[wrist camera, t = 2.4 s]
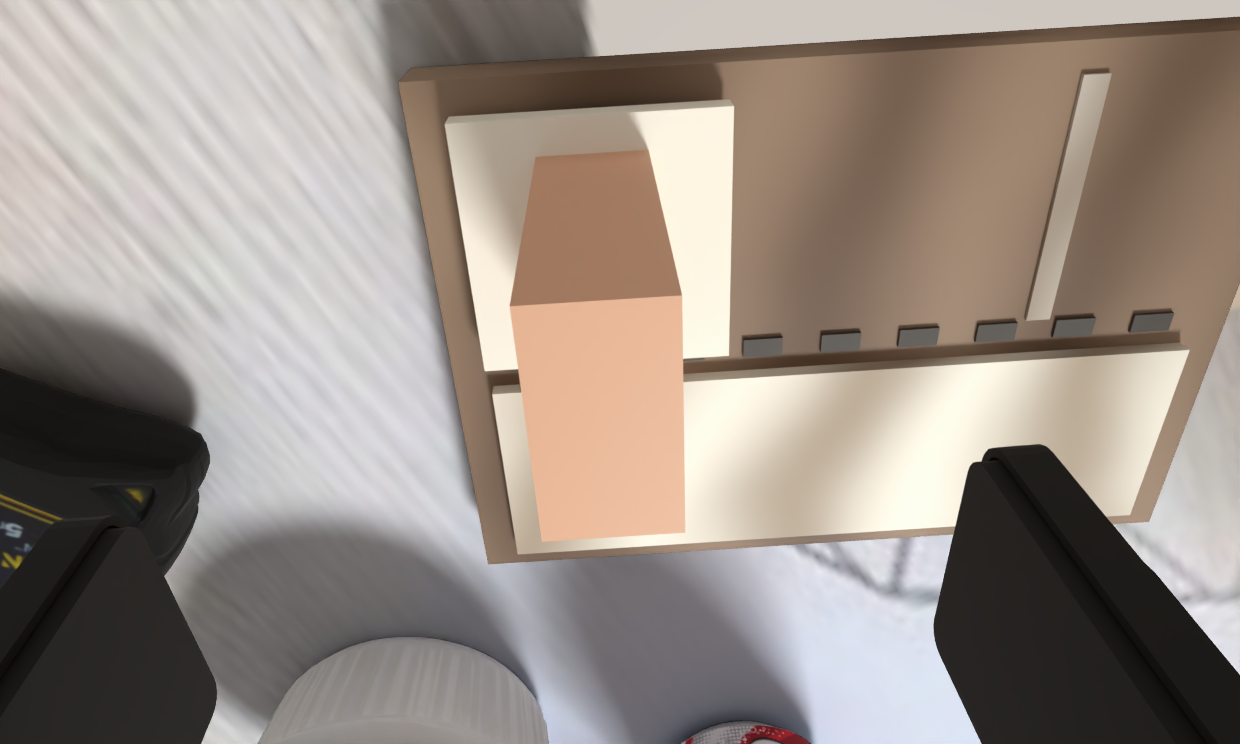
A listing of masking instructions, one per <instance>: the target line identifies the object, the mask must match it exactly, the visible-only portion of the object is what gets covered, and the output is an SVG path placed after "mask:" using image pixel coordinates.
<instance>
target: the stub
mask: <svg viewBox="0 0 1240 744" xmlns="http://www.w3.org/2000/svg"><path fill="white" fill-rule="evenodd" d="M445 130H446V136H447V142H448V148H449V155H450V161H451V167H452V173H453V179H454V185H455V191H456V198H457V204H458V210H459V216H460V222H461V228H462V235H463V241H464V247H465V253H466V259H467V265H468V271H469V278H470V284H471V290H472V296H473V302H474V308H475V315H476V321H477V327H478V333H479V339H480V345H481V351H482V358H483V364H484V370H485V371H497V370H513V369H518V372H519V379H520V386H521V393H522V401H523V408H524V415H525V423H526V430H527V437H528V444H529V452H530V459H531V466H532V474H533V481H534V488H535V496H536V503H537V510H538V517H539V525H540V532H541V539H542V542H548V541H563V540H579V539H594V538H610V537H625V536H641V535H656V534H672V533H685V467H684V392H683V359H686V358H702V357H718V356H729V326H730V278H731V230H732V182H733V134H734V105H733V104H732V102H731V100H730V99H725V100H709V101H693V102H677V103H661V104H645V105H629V106H612V107H596V108H580V109H564V110H548V111H532V112H516V113H500V114H484V115H467V116H451V117H448V119H447V121H446V122H445Z"/></svg>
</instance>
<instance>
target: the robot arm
mask: <svg viewBox="0 0 1240 744" xmlns="http://www.w3.org/2000/svg"><path fill="white" fill-rule="evenodd" d="M934 637H935V642H936V646H937V649H938V652H939V654H940V656H941V659H942V661H943V663H944V665H945V667H946V669H947V671H948V673H949V675H950V678H951V680H952V682H953V684H954V686H955V688H956V690H957V692H958V695H959V697H960V699H961V701H962V703H963V705H964V707H965V709H966V711H967V714H968V716H969V718H970V720H971V722H972V724H973V726H974V728H975V731H976V733H977V735H978V737H979V739H980V741H981V743H982V744H1240V675H1239V673H1238V672H1237V671H1236V670H1235V669H1234V667H1233V666H1232V665H1231V664H1230V663H1229V661H1228V660H1227V659H1226V658H1225V657H1224V655H1223V654H1222V653H1221V652H1220V651H1219V649H1218V648H1217V647H1216V646H1215V645H1214V643H1213V642H1212V641H1211V640H1210V639H1209V637H1208V636H1207V635H1206V634H1205V632H1204V631H1203V630H1202V629H1201V628H1200V626H1199V625H1198V624H1197V623H1196V622H1195V620H1194V619H1193V618H1192V617H1191V616H1190V614H1189V613H1188V612H1187V611H1186V610H1185V608H1184V607H1183V606H1182V605H1181V604H1180V602H1179V601H1178V600H1177V599H1176V597H1175V596H1174V595H1173V594H1172V593H1171V591H1170V590H1169V589H1168V588H1167V587H1166V585H1165V584H1164V583H1163V582H1162V581H1161V579H1160V578H1159V577H1158V576H1157V575H1156V573H1155V572H1154V571H1153V570H1152V569H1150V568H1149V567H1148V566H1147V565H1146V564H1145V563H1144V562H1143V561H1142V560H1141V558H1140V557H1139V556H1138V555H1137V553H1136V552H1135V551H1134V550H1133V549H1132V547H1131V546H1130V545H1129V544H1128V543H1127V541H1126V540H1125V539H1124V538H1123V536H1122V535H1121V534H1120V533H1119V532H1118V530H1117V529H1116V528H1115V527H1114V526H1113V524H1112V523H1111V522H1110V521H1109V520H1108V518H1107V517H1106V516H1105V515H1104V513H1103V512H1102V511H1101V510H1100V509H1099V507H1098V506H1097V505H1096V504H1095V503H1094V501H1093V500H1092V499H1091V498H1090V497H1089V495H1088V494H1087V493H1086V492H1085V490H1084V489H1083V488H1082V487H1081V486H1080V484H1079V483H1078V482H1077V481H1076V480H1075V478H1074V477H1073V476H1072V475H1071V473H1070V472H1069V471H1068V470H1067V469H1066V467H1065V466H1064V465H1063V464H1062V463H1061V461H1060V460H1059V459H1058V458H1057V457H1056V455H1055V454H1054V453H1053V452H1052V451H1051V450H1050V449H1049V448H1048V447H1047V446H1044V445H1041V444H1034V445H1021V446H1008V447H995V448H990V449H988V450H987V451H986V452H985V454H984V456H983V458H982V461H980V462H974V463H972V464H971V465H970V467H969V470H968V473H967V477H966V481H965V486H964V490H963V495H962V499H961V504H960V508H959V512H958V517H957V521H956V526H955V530H954V535H953V539H952V543H951V548H950V552H949V557H948V561H947V565H946V570H945V574H944V579H943V583H942V588H941V592H940V596H939V601H938V605H937V610H936V614H935V619H934ZM216 700H217V688H216V682H215V679H214V677H213V675H212V673H211V671H210V669H209V667H208V665H207V663H206V661H205V659H204V657H203V655H202V652H201V650H200V648H199V646H198V644H197V642H196V640H195V638H194V636H193V634H192V632H191V630H190V628H189V626H188V624H187V622H186V620H185V618H184V616H183V614H182V612H181V610H180V608H179V606H178V604H177V602H176V600H175V598H174V596H173V593H172V591H171V589H170V587H169V585H168V583H167V581H166V579H165V577H164V575H163V573H162V571H161V569H160V567H159V565H158V563H157V561H156V559H155V557H154V555H153V553H152V551H151V549H150V547H149V545H148V543H147V541H146V539H145V537H144V535H143V533H142V532H141V531H140V530H139V529H137V528H136V527H129V526H128V524H127V523H126V522H125V520H123V519H122V518H120V517H119V516H112V515H110V516H97V517H84V518H71V519H61V520H59V521H57V522H54V523H53V524H52V525H51V526H50V527H49V528H48V529H47V530H46V531H45V533H44V534H43V535H42V536H41V538H40V539H39V540H38V542H37V543H36V544H35V546H34V547H33V548H32V549H31V551H30V552H29V553H28V555H27V556H26V557H25V558H24V560H23V561H22V562H21V564H20V565H19V566H18V568H17V569H16V570H15V571H14V573H13V574H12V575H11V577H10V578H9V579H8V580H7V582H6V583H5V584H4V586H3V587H2V588H1V589H0V744H201V742H202V740H203V737H204V735H205V733H206V730H207V728H208V725H209V723H210V720H211V718H212V716H213V713H214V710H215V706H216Z"/></svg>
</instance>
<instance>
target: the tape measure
mask: <svg viewBox="0 0 1240 744" xmlns="http://www.w3.org/2000/svg"><path fill="white" fill-rule="evenodd" d="M209 464H210V454H209V451H208V448H207V444H206V442H205V441H204V439H203V437H202V435H201V434H200V433H198V432H196V431H195V430H193V429H191V428H189V427H187V426H184V425H181V424H178V423H176V422H173V421H169V420H166V419H163V418H160V417H157V416H153V415H149V414H144V413H140V412H136V411H131V410H127V409H123V408H119V407H116V406H112V405H109V404H105V403H102V402H98V401H95V400H92V399H89V398H85V397H82V396H79V395H76V394H73V393H70V392H66V391H63V390H60V389H57V388H54V387H51V386H49V385H46V384H43V383H40V382H37V381H35V380H32V379H29V378H26V377H24V376H21V375H18V374H15V373H13V372H10V371H7V370H4V369H1V368H0V589H1V588H2V587H3V586H4V584H5V583H6V582H7V580H8V579H9V578H10V577H11V575H12V574H13V573H14V571H15V570H16V569H17V568H18V566H19V565H20V564H21V562H22V561H23V560H24V558H25V557H26V556H27V555H28V553H29V552H30V551H31V549H32V548H33V547H34V546H35V544H36V543H37V542H38V540H39V539H40V538H41V536H42V535H43V534H44V533H45V531H46V530H47V529H48V528H49V527H50V526H51V525H52V524H53V523H54V522H57V521H59V520H61V519H71V518H84V517H97V516H110V515H112V516H119V517H120V518H122V519H123V520H125V522H126V523H127V524H128V526H129V527H136V528H137V529H139V530H140V531H141V532H142V533H143V535H144V537H145V539H146V541H147V543H148V545H149V547H150V549H151V551H152V553H153V555H154V557H155V559H156V561H157V563H158V565H159V567H160V569H161V571H162V573H163V575H164V576H165V574H166V573H167V572H168V570H169V569H170V568H171V566H172V565H173V563H174V562H175V560H176V559H177V557H178V556H179V554H180V553H181V551H182V549H183V547H184V545H185V543H186V541H187V539H188V537H189V535H190V533H191V530H192V528H193V525H194V523H195V520H196V517H197V514H198V503H199V492H198V489H199V487H200V485H201V484H202V482H203V480H204V478H205V476H206V473H207V470H208V467H209Z"/></svg>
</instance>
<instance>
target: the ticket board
mask: <svg viewBox="0 0 1240 744" xmlns="http://www.w3.org/2000/svg"><path fill="white" fill-rule="evenodd" d="M398 84H399V90H400V95H401V100H402V106H403V111H404V116H405V122H406V127H407V133H408V138H409V143H410V149H411V154H412V159H413V165H414V170H415V175H416V181H417V186H418V191H419V197H420V202H421V207H422V213H423V218H424V223H425V229H426V234H427V239H428V245H429V250H430V255H431V261H432V266H433V272H434V277H435V282H436V288H437V293H438V298H439V304H440V309H441V314H442V320H443V325H444V330H445V336H446V341H447V346H448V352H449V357H450V362H451V368H452V373H453V378H454V384H455V389H456V394H457V400H458V405H459V410H460V416H461V421H462V427H463V432H464V437H465V443H466V448H467V453H468V459H469V464H470V469H471V475H472V480H473V485H474V491H475V496H476V501H477V507H478V512H479V517H480V523H481V528H482V533H483V539H484V544H485V549H486V555H487V560H488V564H500V563H515V562H531V561H546V560H562V559H578V558H593V557H609V556H624V555H640V554H655V553H671V552H686V551H702V550H717V549H733V548H748V547H764V546H779V545H795V544H810V543H826V542H841V541H857V540H872V539H888V538H903V537H919V536H934V535H950V534H954V530H955V526H956V521H957V517H958V512H959V508H960V504H961V499H962V495H963V490H964V486H965V481H966V477H967V473H968V470H969V467H970V465H971V464H972V463H974V462H980V461H982V458H983V456H984V454H985V452H986V451H987V450H988V449H990V448H995V447H1008V446H1021V445H1034V444H1041V445H1044V446H1047V447H1048V448H1049V449H1050V450H1051V451H1052V452H1053V453H1054V454H1055V455H1056V457H1057V458H1058V459H1059V460H1060V461H1061V463H1062V464H1063V465H1064V466H1065V467H1066V469H1067V470H1068V471H1069V472H1070V473H1071V475H1072V476H1073V477H1074V478H1075V480H1076V481H1077V482H1078V483H1079V484H1080V486H1081V487H1082V488H1083V489H1084V490H1085V492H1086V493H1087V494H1088V495H1089V497H1090V498H1091V499H1092V500H1093V501H1094V503H1095V504H1096V505H1097V506H1098V507H1099V509H1100V510H1101V511H1102V512H1103V513H1104V515H1105V516H1106V517H1107V518H1108V520H1109V521H1110V522H1111V523H1112V524H1121V523H1136V522H1149V520H1150V518H1151V515H1152V513H1153V510H1154V507H1155V505H1156V502H1157V499H1158V497H1159V494H1160V491H1161V489H1162V486H1163V484H1164V481H1165V478H1166V476H1167V473H1168V470H1169V468H1170V465H1171V463H1172V460H1173V457H1174V455H1175V452H1176V449H1177V447H1178V444H1179V441H1180V439H1181V436H1182V434H1183V431H1184V428H1185V426H1186V423H1187V420H1188V418H1189V415H1190V413H1191V410H1192V407H1193V405H1194V402H1195V399H1196V397H1197V394H1198V392H1199V389H1200V386H1201V384H1202V381H1203V378H1204V376H1205V373H1206V370H1207V368H1208V365H1209V363H1210V360H1211V357H1212V355H1213V352H1214V349H1215V347H1216V344H1217V342H1218V339H1219V336H1220V334H1221V331H1222V328H1223V326H1224V323H1225V320H1226V318H1227V315H1228V313H1229V310H1230V307H1231V305H1232V302H1233V299H1234V297H1235V294H1236V291H1237V289H1238V286H1239V284H1240V17H1228V18H1213V19H1197V20H1180V21H1164V22H1148V23H1132V24H1115V25H1100V26H1083V27H1067V28H1050V29H1034V30H1019V31H1002V32H986V33H970V34H953V35H938V36H921V37H905V38H889V39H873V40H857V41H840V42H825V43H808V44H792V45H776V46H759V47H743V48H729V49H728V48H727V49H711V50H695V51H679V52H662V53H647V54H630V55H615V56H598V57H581V58H565V59H549V60H533V61H517V62H500V63H484V64H468V65H452V66H436V67H420V68H411V69H410V70H409V71H408V72H407V73H406V74H405V75H404V76H403V78H402V79H401V80H400V81H399V82H398ZM725 99H730V100H731V102H732V104H733V105H734V134H733V182H732V230H731V278H730V326H729V356H718V357H702V358H686V359H683V392H684V467H685V533H672V534H656V535H641V536H625V537H610V538H594V539H579V540H563V541H548V542H542V539H541V532H540V525H539V517H538V510H537V503H536V496H535V488H534V481H533V474H532V466H531V459H530V452H529V444H528V437H527V430H526V423H525V415H524V408H523V401H522V393H521V386H520V379H519V372H518V369H513V370H497V371H485V370H484V364H483V358H482V351H481V345H480V339H479V333H478V327H477V321H476V315H475V308H474V302H473V296H472V290H471V284H470V278H469V271H468V265H467V259H466V253H465V247H464V241H463V235H462V228H461V222H460V216H459V210H458V204H457V198H456V191H455V185H454V179H453V173H452V167H451V161H450V155H449V148H448V142H447V136H446V130H445V122H446V121H447V119H448V117H451V116H467V115H484V114H500V113H516V112H532V111H548V110H564V109H580V108H596V107H612V106H629V105H645V104H661V103H677V102H693V101H709V100H725Z"/></svg>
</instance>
